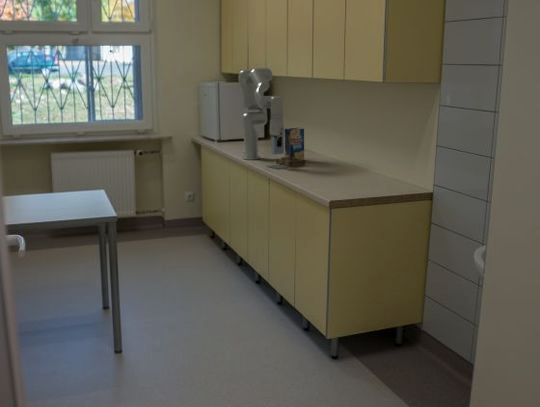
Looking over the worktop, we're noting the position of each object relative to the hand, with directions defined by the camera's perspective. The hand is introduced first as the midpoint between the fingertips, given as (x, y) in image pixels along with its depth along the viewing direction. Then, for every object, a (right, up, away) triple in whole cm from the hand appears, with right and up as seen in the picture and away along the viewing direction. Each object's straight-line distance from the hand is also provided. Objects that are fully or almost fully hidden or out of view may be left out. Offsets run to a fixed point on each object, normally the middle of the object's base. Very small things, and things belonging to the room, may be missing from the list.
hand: (277, 146), depth 376 cm
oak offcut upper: (+5, -8, +15) cm, 18 cm away
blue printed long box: (+12, -8, +25) cm, 29 cm away
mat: (0, -13, +3) cm, 14 cm away
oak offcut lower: (+5, -10, +16) cm, 20 cm away
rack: (+9, -11, +11) cm, 18 cm away
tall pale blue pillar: (0, -5, +1) cm, 5 cm away
